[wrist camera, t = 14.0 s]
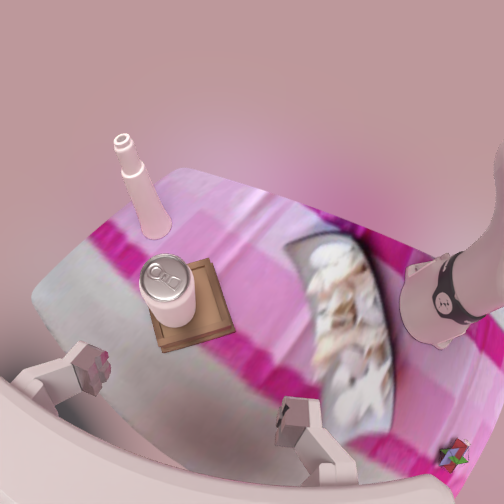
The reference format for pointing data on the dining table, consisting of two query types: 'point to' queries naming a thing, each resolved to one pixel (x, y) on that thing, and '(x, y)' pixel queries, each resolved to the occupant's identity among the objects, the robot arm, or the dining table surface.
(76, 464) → the robot arm
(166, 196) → the dining table surface
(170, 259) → the can
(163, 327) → the pedestal
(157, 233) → the pink bottle
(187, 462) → the dining table surface
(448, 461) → the geometric puzzle
